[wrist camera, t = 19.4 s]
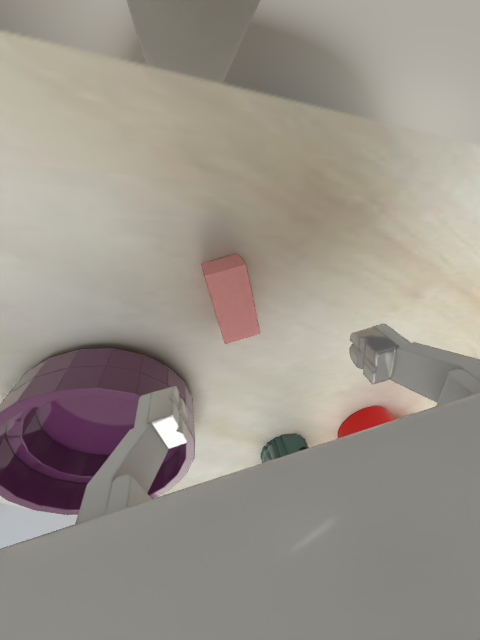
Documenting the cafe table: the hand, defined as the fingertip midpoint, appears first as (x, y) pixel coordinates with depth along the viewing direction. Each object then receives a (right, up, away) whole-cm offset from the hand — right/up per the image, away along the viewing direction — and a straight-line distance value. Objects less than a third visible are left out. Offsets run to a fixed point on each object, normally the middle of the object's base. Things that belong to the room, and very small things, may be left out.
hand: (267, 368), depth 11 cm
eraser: (-2, +5, +10) cm, 11 cm away
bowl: (-14, -7, +14) cm, 21 cm away
